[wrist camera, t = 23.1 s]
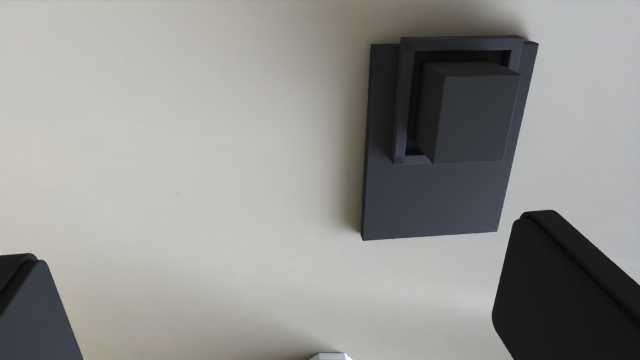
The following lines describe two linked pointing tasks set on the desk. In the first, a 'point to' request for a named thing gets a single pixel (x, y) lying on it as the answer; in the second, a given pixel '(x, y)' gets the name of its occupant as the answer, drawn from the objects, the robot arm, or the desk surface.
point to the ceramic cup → (330, 356)
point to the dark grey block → (464, 110)
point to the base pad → (408, 159)
